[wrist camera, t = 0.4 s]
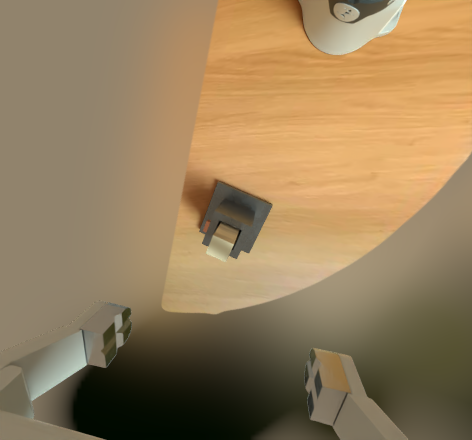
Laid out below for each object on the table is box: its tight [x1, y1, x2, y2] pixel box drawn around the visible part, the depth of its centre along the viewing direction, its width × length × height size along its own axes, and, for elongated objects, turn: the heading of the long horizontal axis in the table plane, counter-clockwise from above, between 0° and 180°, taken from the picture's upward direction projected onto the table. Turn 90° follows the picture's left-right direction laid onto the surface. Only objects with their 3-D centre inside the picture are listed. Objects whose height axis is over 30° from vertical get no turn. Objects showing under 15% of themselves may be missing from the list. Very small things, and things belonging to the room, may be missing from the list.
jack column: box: [206, 222, 240, 262], centre depth 47 cm, size 4×4×16 cm
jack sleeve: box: [199, 181, 272, 259], centre depth 50 cm, size 14×14×12 cm
